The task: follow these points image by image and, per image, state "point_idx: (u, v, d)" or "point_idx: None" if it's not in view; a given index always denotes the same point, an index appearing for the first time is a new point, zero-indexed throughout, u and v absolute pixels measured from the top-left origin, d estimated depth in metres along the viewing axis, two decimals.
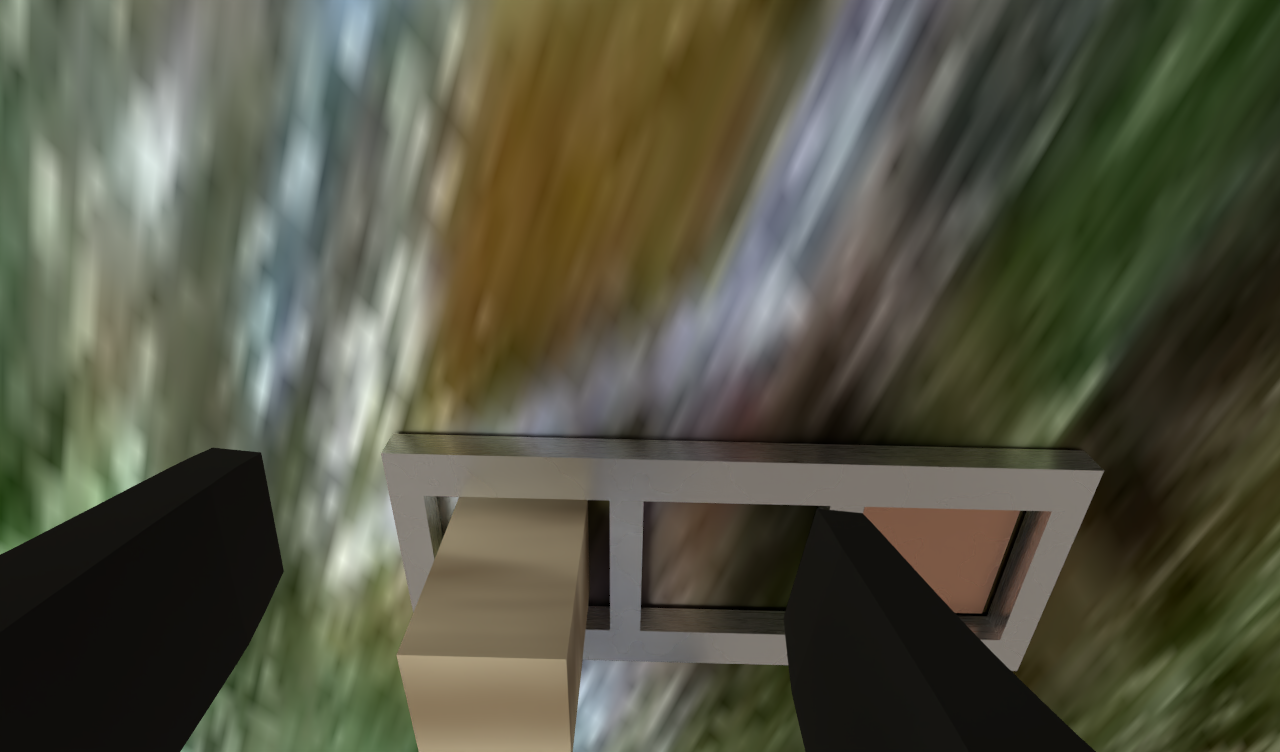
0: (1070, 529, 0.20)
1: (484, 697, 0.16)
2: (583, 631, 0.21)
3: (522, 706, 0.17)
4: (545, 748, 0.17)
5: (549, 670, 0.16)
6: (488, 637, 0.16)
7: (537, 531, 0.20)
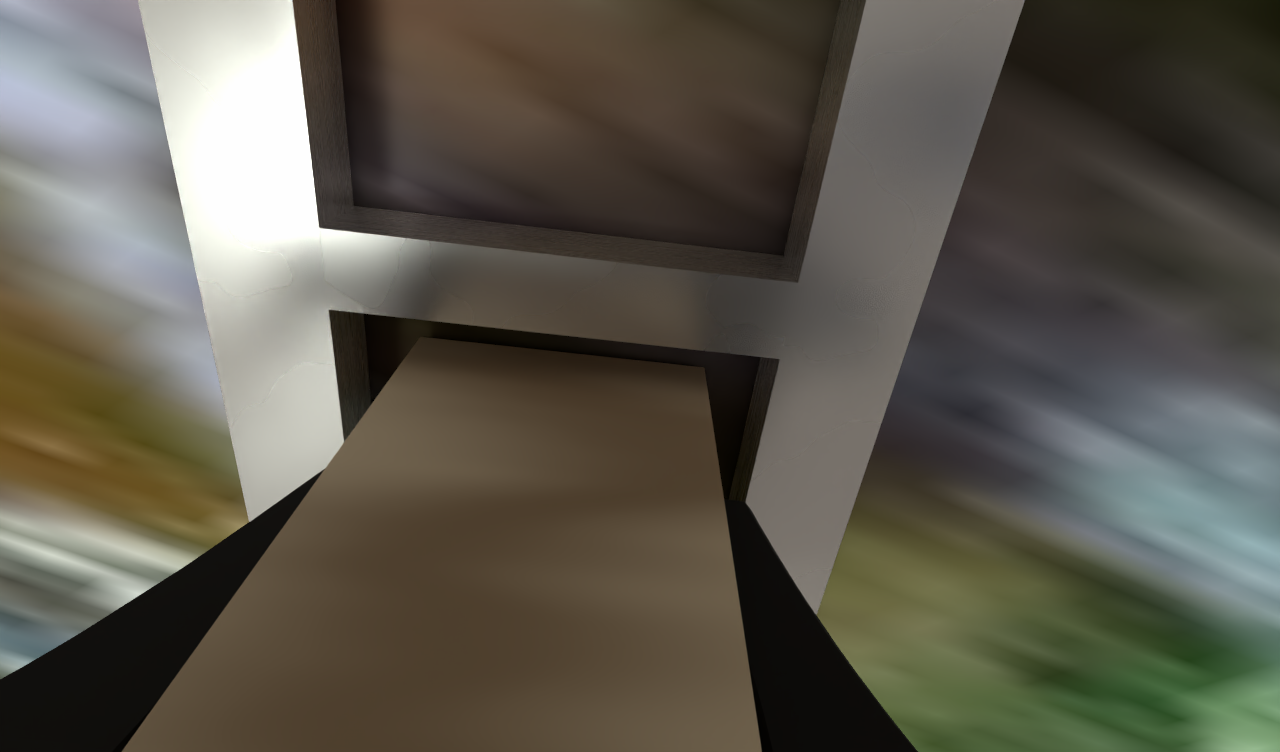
0: None
1: None
2: (665, 457, 0.07)
3: None
4: None
5: None
6: None
7: None
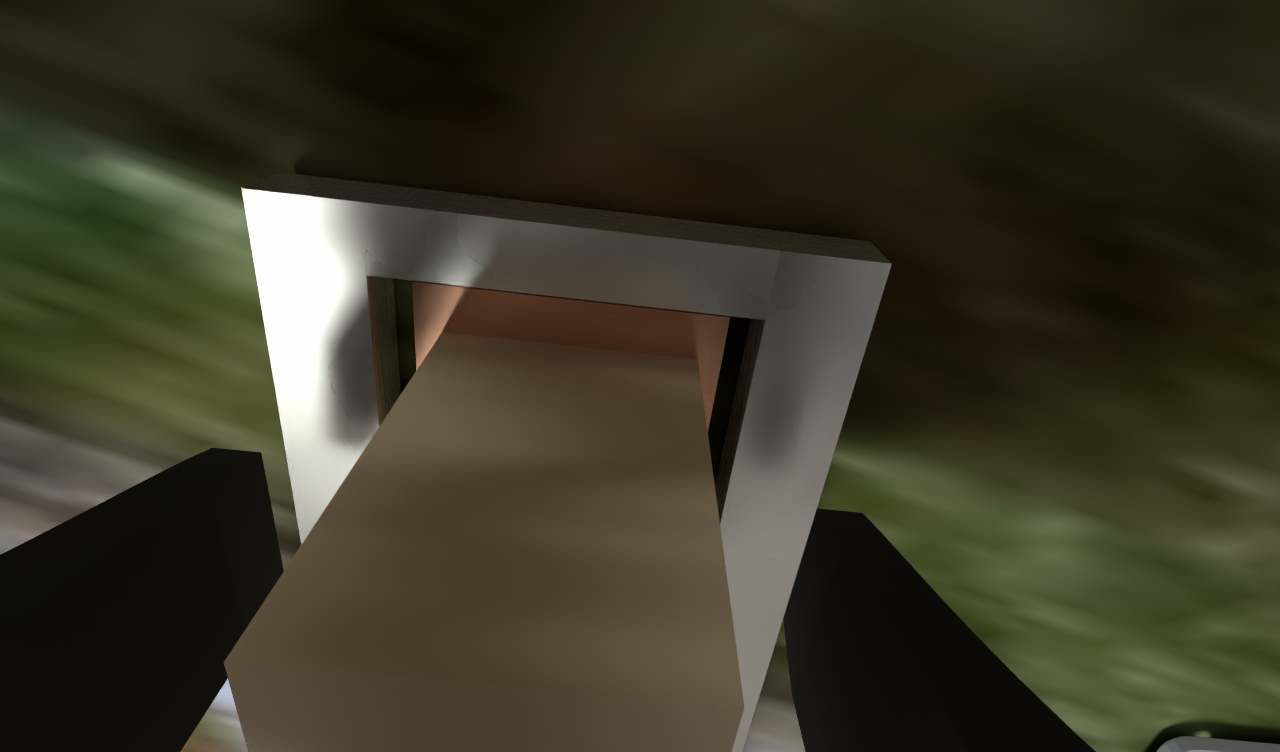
0: (412, 226, 0.09)
1: None
2: (662, 436, 0.08)
3: None
4: None
5: (284, 702, 0.05)
6: None
7: None
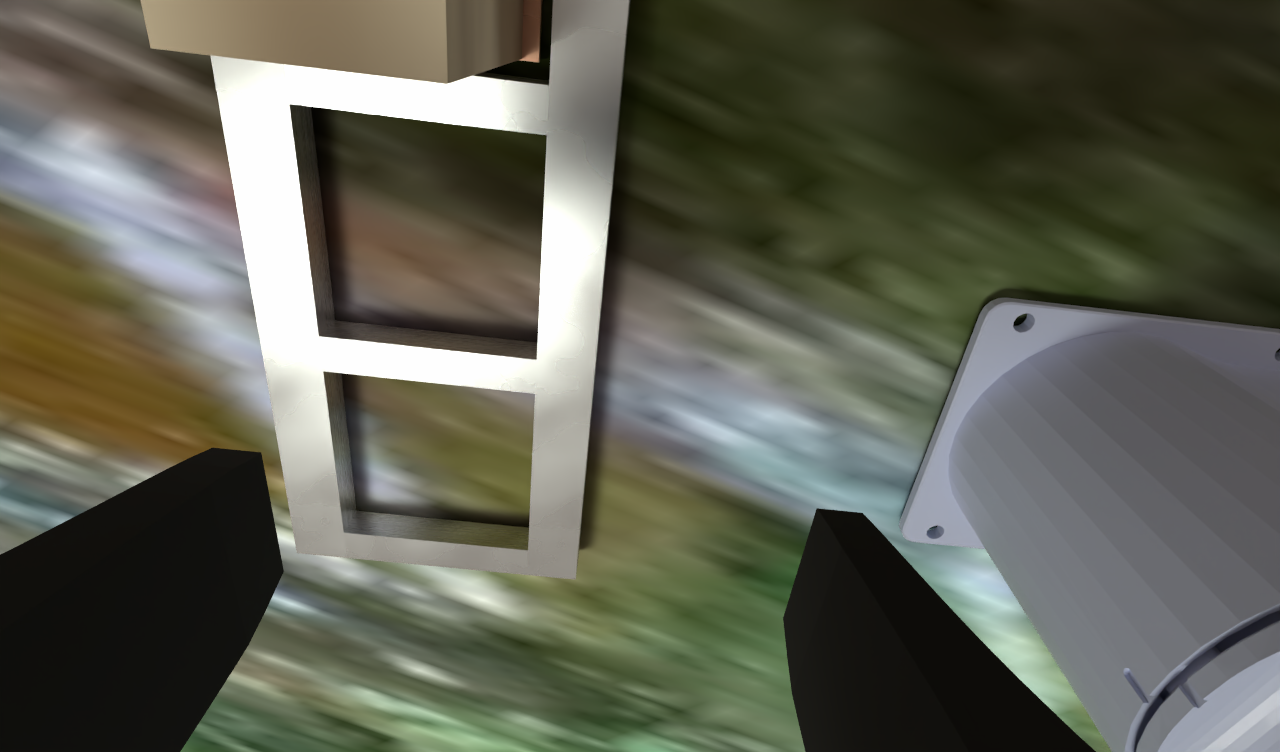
0: None
1: None
2: None
3: None
4: None
5: None
6: None
7: None
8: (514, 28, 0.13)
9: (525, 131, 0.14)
